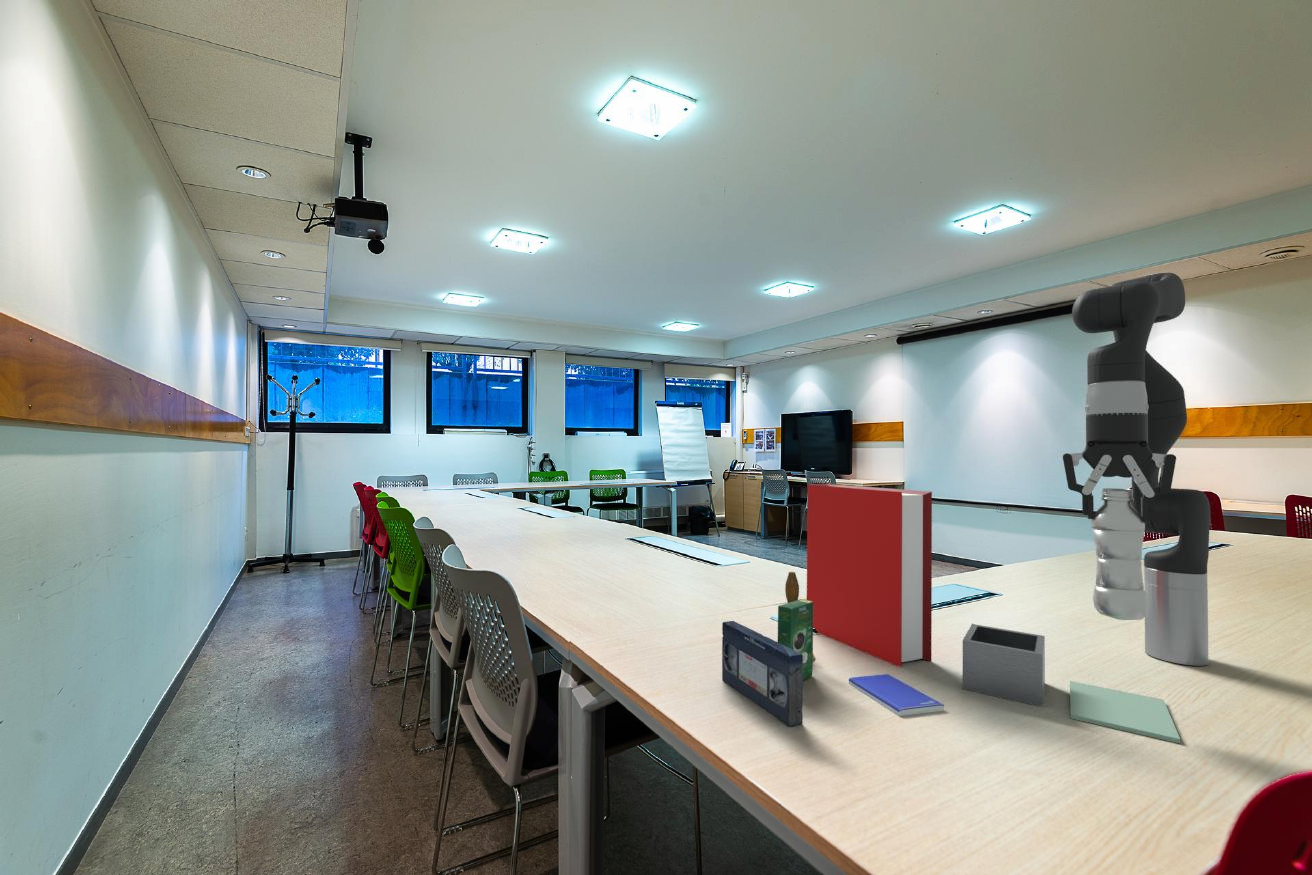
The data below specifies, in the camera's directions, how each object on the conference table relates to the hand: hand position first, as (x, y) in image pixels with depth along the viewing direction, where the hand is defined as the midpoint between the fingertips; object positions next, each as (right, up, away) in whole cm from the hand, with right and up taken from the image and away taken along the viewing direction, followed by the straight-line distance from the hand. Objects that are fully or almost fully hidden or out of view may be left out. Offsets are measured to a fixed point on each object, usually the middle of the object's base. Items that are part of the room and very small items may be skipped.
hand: (1116, 519), depth 88 cm
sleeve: (-13, -29, +8) cm, 33 cm away
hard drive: (-34, -29, +3) cm, 45 cm away
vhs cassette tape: (-56, -28, 0) cm, 63 cm away
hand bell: (-46, -29, +20) cm, 58 cm away
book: (-29, -30, +29) cm, 51 cm away
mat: (-1, -29, -1) cm, 29 cm away
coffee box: (-48, -29, +8) cm, 57 cm away
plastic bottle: (0, -15, -1) cm, 15 cm away
